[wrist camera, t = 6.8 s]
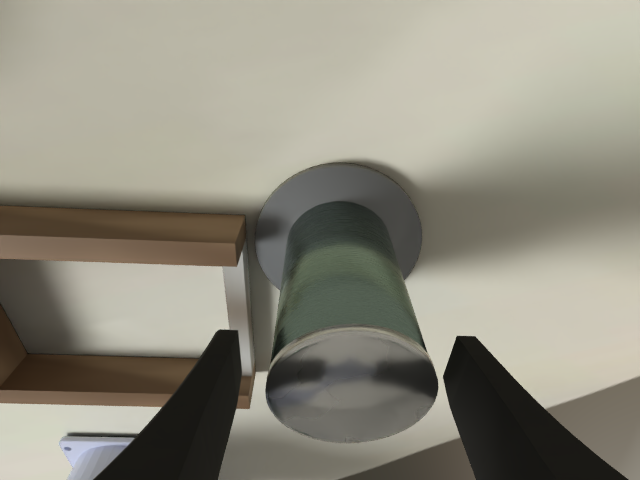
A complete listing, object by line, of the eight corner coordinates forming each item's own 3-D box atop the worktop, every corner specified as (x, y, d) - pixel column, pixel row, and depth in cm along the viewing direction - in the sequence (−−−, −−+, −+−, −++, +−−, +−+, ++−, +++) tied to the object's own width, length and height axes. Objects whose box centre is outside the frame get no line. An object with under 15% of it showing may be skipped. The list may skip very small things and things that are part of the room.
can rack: (255, 372, 23) (245, 434, 20) (15, 366, 23) (-38, 428, 20) (244, 215, 17) (227, 264, 14) (-82, 202, 17) (-182, 250, 14)
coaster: (404, 303, 20) (406, 311, 20) (259, 299, 20) (258, 306, 20) (434, 166, 16) (438, 171, 16) (252, 158, 16) (250, 163, 15)
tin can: (379, 292, 19) (413, 447, 12) (282, 284, 19) (262, 438, 12) (402, 206, 16) (461, 342, 10) (289, 194, 16) (268, 327, 9)
